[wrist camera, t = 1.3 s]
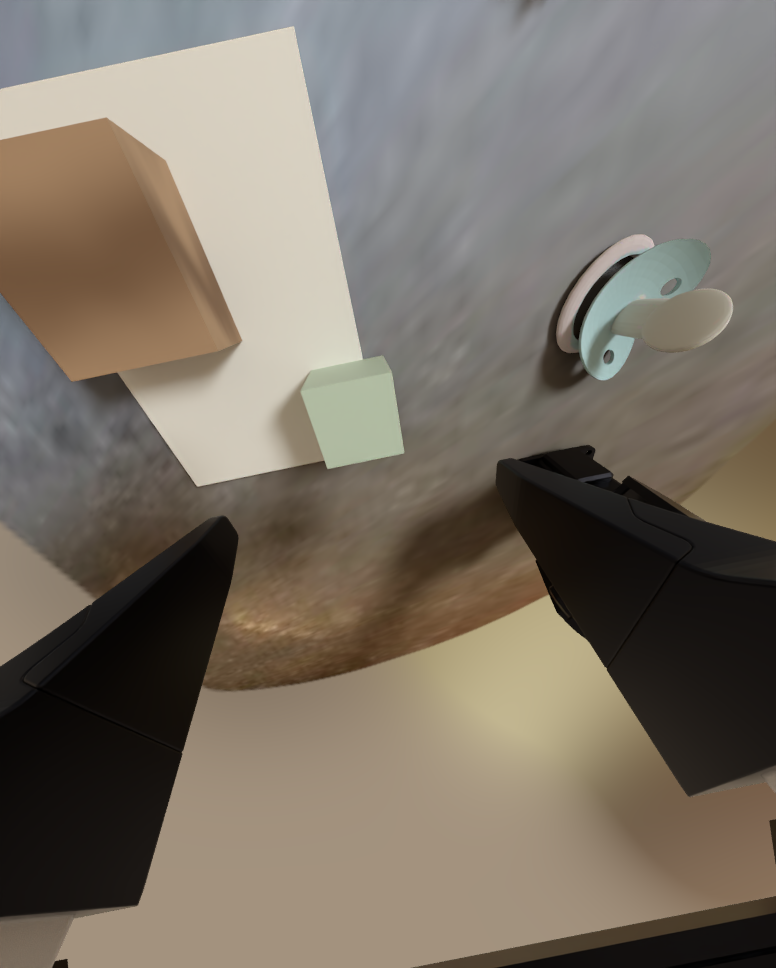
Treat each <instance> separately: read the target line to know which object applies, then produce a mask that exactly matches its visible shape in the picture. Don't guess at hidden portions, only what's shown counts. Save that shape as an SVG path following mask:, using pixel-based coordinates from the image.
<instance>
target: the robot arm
mask: <svg viewBox="0 0 776 968" xmlns="http://www.w3.org/2000/svg"><path fill="white" fill-rule="evenodd" d="M587 451H588V452H587ZM586 452H587V453H586ZM594 453H595V448H593V447H592V446H590V445H586V446H581V447H576V448H569V449H564V450H559V451H554V452H549V453H546V454H542V455H537V456H532V457H528V458H523V459H520V460H515V459H512V458H508V459H504V460H499V461H498V463H497V472H496V486H497V489H498V491H499V493H500V495H501V498H502V500H503V502H504V504H505V506H506V508H507V510H508V512H509V514H510V516H511V518H512V520H513V522H514V524H515V526H516V528H517V529H518V531H519V533H520V534H521V536H522V537H523V539H524V541H525V542H526V544H527V545H528V547H529V548H530V550H531V552H532V553H533V555H534V556H535V558H536V559H537V560H536V563H537V566H538V568H539V571H540V573H541V576H542V578H543V581H544V583H545V585H546V588H547V590H548V593H549V595H550V598H551V600H552V602H553V604H554V607H555V609H556V611H557V613H558V614H559V615H560V616H561V617H562V618H563V619H564V620H565V622H567V623H568V624H569V625H570V626H571V627H572V628H573V629H574V630H575V631H576V632H577V633H579V634H580V635H581V636H583V637H584V638H586V639H587V640H588V642H589V643H590V644H591V646H592V647H593V649H594V650H595V652H596V653H597V655H598V657H599V658H600V660H601V661H602V663H603V665H604V666H605V667H606V668H607V671H608V673H609V674H610V676H611V677H612V679H613V681H614V682H615V684H616V685H617V687H618V689H619V690H620V692H621V693H622V695H623V696H624V698H625V699H626V701H627V703H628V704H629V706H630V707H631V709H632V710H633V712H634V714H635V715H636V717H637V718H638V720H639V721H640V723H641V725H642V726H643V728H644V729H645V731H646V732H647V734H648V735H649V737H650V739H651V740H652V742H653V743H654V745H655V747H656V748H657V750H658V751H659V753H660V754H661V756H662V757H663V759H664V761H665V762H666V764H667V765H668V767H669V769H670V770H671V771H672V773H673V775H674V776H675V778H676V779H677V781H678V783H679V784H680V785H681V787H682V788H683V790H684V791H685V793H686V794H687V795H688V796H689V797H693V796H698V795H703V794H708V793H713V792H718V791H723V790H728V789H733V788H738V787H744V786H748V785H753V784H759V783H764V782H766V783H767V784H768V785H769V786H770V787H771V788H772V789H773V791H774V792H775V793H776V542H775V541H772V540H768V539H765V538H761V537H758V536H754V535H750V534H747V533H744V532H740V531H736V530H733V529H730V528H726V527H723V526H719V525H715V524H712V523H709V522H706V521H704V520H703V519H701V518H700V517H698V516H697V515H695V514H693V513H691V512H690V511H689V510H687V509H685V508H684V507H682V506H681V505H679V504H677V503H676V502H674V501H673V500H671V499H669V498H668V497H666V496H664V495H662V494H661V493H659V492H657V491H655V490H654V489H652V488H650V487H648V486H646V485H645V484H643V483H641V482H639V481H637V480H636V479H634V478H632V477H630V476H627V477H626V478H625V479H624V480H623V481H622V482H623V483H622V484H621V483H619V482H618V481H616V480H615V479H613V473H612V472H610V471H609V470H608V469H606V468H605V467H603V466H602V465H600V464H599V463H597V462H596V461H594V460H593V457H594ZM237 546H238V534H237V532H236V530H235V529H234V527H233V526H232V524H231V523H230V521H229V520H228V518H227V517H225V516H223V515H222V516H216V517H212V518H209V519H208V520H206V521H205V522H204V523H202V524H201V525H200V526H198V527H197V528H195V529H194V530H193V531H191V532H190V533H188V534H187V535H186V536H184V537H183V538H182V539H180V540H179V541H177V542H176V543H175V544H173V545H172V546H170V547H169V548H168V549H166V550H165V551H163V552H162V553H161V554H159V555H158V556H157V557H155V558H154V559H152V560H151V561H150V562H148V563H147V564H145V565H144V566H143V567H141V568H140V569H138V570H137V571H136V572H134V573H133V574H132V575H130V576H129V577H127V578H126V579H125V580H123V581H122V582H120V583H119V584H118V585H116V586H115V587H114V588H112V589H111V590H109V591H108V592H107V593H105V594H104V595H102V596H101V597H100V598H98V599H97V600H95V601H94V602H93V603H92V605H89V606H87V607H86V608H84V609H83V610H81V611H80V612H79V613H77V614H76V615H75V616H73V617H72V618H70V619H69V620H68V621H66V622H65V623H63V624H62V625H60V626H59V627H58V628H56V629H55V630H53V631H52V632H51V633H49V634H48V635H46V636H45V637H43V638H42V639H40V640H39V641H38V642H36V643H35V644H33V645H32V646H30V647H29V648H27V649H26V650H24V651H23V652H21V653H20V654H18V655H17V656H15V657H14V658H13V659H11V660H9V661H8V662H6V663H5V664H3V665H2V666H0V968H68V962H67V959H64V960H59V961H55V959H56V957H57V955H58V953H59V951H60V948H61V946H62V944H63V941H64V939H65V937H66V935H67V932H68V930H69V928H70V926H71V924H72V921H73V919H74V918H78V917H84V916H89V915H94V914H99V913H104V912H109V911H114V910H119V909H125V908H130V907H135V906H137V905H138V903H139V901H140V898H141V895H142V893H143V889H144V886H145V883H146V879H147V876H148V872H149V869H150V866H151V862H152V859H153V855H154V852H155V848H156V845H157V841H158V837H159V834H160V831H161V827H162V823H163V820H164V816H165V813H166V809H167V806H168V802H169V799H170V795H171V792H172V788H173V785H174V781H175V778H176V774H177V771H178V767H179V764H180V760H181V757H182V751H183V749H184V746H185V742H186V738H187V735H188V732H189V728H190V725H191V721H192V718H193V714H194V711H195V707H196V704H197V700H198V697H199V693H200V690H201V686H202V683H203V679H204V676H205V672H206V669H207V665H208V662H209V658H210V655H211V651H212V648H213V644H214V641H215V637H216V634H217V630H218V627H219V623H220V620H221V616H222V613H223V609H224V606H225V602H226V599H227V595H228V592H229V588H230V584H231V580H232V575H233V570H234V564H235V558H236V552H237ZM770 828H771V835H772V842H773V849H774V856H775V862H776V819H775V820H770ZM413 968H776V896H774V897H769V898H764V899H759V900H754V901H749V902H744V903H739V904H734V905H728V906H724V907H718V908H714V909H709V910H703V911H698V912H693V913H688V914H683V915H678V916H673V917H667V918H663V919H657V920H652V921H647V922H642V923H637V924H632V925H627V926H622V927H617V928H612V929H607V930H601V931H597V932H591V933H586V934H581V935H576V936H571V937H566V938H561V939H556V940H551V941H546V942H541V943H535V944H530V945H525V946H520V947H515V948H510V949H505V950H500V951H495V952H490V953H485V954H479V955H474V956H469V957H464V958H459V959H454V960H449V961H444V962H439V963H434V964H428V965H423V966H419V967H413Z"/></svg>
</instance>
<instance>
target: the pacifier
mask: <svg viewBox="0 0 776 968" xmlns="http://www.w3.org/2000/svg"><path fill="white" fill-rule="evenodd" d="M627 256H631V257H633V258H634V259H632V260H631V261H630V262H628V263H627V264H626V265H625V266H623V267H622V268H621V269H620V270H619V271H618V272H617V273H616V274H614V275H613V276H612V277H611V279H610V280H609V281H608V282H607V283H606V284H605V285H604V287H603V288H602V289H601V290H600V292H599V293H598V294H597V296H596V297H595V299H594V300H593V302H592V304H591V305H590V307H589V309H588V311H587V313H586V315H585V317H584V320H583V323H582V326H581V330H580V335H579V340H577V339H576V338H575V336H574V332H573V326H574V320H575V317H576V314H577V312H578V309H579V307H580V305H581V303H582V301H583V299H584V297H585V296H586V294H587V293H588V291H589V290H590V289H591V287H592V286H593V285H594V283H595V282H596V281H597V280H598V279H599V278H600V276H601V275H602V274H603V273H604V272H605V271H607V270H608V269H609V268H610V267H611V266H612V265H613V264H615V263H616V262H618V261H619V260H621V259H622V258H624V257H627ZM710 259H711V253H710V249H709V248H708V247H707V245H706V244H705V243H703V242H701V241H699V240H695V239H678V240H672V241H668V242H665V243H662V244H659V245H657V246H654V243H653V241H652V239H651V238H649V237H647V236H646V235H644V234H639V235H632V236H629V237H627V238H624V239H622V240H620V241H619V242H617V243H616V244H614V245H613V246H611V247H610V248H608V249H607V250H606V251H605V252H604V253H603V254H601V255H600V256H599V257H598V258H597V259H596V260H595V261H594V262H593V263H592V264H591V265H590V266H589V268H588V269H587V270H586V271H585V272H584V274H583V275H582V276H581V277H580V279H579V280H578V282H577V283H576V285H575V286H574V288H573V289H572V291H571V292H570V294H569V296H568V298H567V300H566V302H565V304H564V306H563V308H562V311H561V314H560V317H559V320H558V323H557V330H556V337H557V344H558V345H559V347H560V348H561V350H562V351H565V352H567V353H578V352H579V354H580V358H581V362H582V364H583V366H584V368H585V370H586V371H587V372H588V374H589V375H591V376H592V377H594V378H596V379H599V380H607V379H609V378H612V377H613V376H614V375H615V374H616V373H617V372H618V371H619V370H620V369H621V367H622V366H623V364H624V363H625V361H626V359H627V357H628V355H629V353H630V350H631V348H632V345H633V342H634V339H635V338H638V339H643V340H644V342H645V343H646V344H647V345H648V346H649V347H651V348H652V349H655V350H657V351H661V352H669V353H674V352H683V351H687V350H691V349H694V348H697V347H699V346H701V345H703V344H705V343H707V342H709V341H710V340H712V339H713V338H715V337H716V336H717V335H718V334H719V333H720V332H721V331H722V330H723V329H724V328H725V327H726V325H727V324H728V322H729V321H730V318H731V316H732V313H733V304H732V300H731V298H730V297H729V296H728V295H727V294H726V293H725V292H722V291H720V290H716V289H697V290H694V288H695V287H696V286H697V285H698V283H699V282H700V281H701V280H702V278H703V276H704V274H705V273H706V271H707V269H708V267H709V264H710ZM673 278H675V279H676V280H677V284H676V286H675V287H674V289H673V290H672V291H670V292H669V293H668V294H666V295H663V296H662V295H661V293H660V291H661V288H662V287H663V285H664V284H665V283H666V282H668V281H669V280H671V279H673ZM607 350H609V351H610V353H611V357H610V360H609V362H608V363H606V364H605V363H604V361H603V356H604V353H605V352H606V351H607Z"/></svg>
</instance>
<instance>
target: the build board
mask: <svg viewBox="0 0 776 968" xmlns="http://www.w3.org/2000/svg"><path fill="white" fill-rule="evenodd" d="M106 117H107V118H108V119H109V120H111V121H112V122H114V123H115V124H116V125H118V126H119V127H120V128H122V129H123V130H124V131H126V132H127V133H129V134H130V135H131V136H133V137H134V138H135V139H137V140H138V141H140V142H141V143H142V144H144V145H145V146H146V147H148V148H149V149H151V150H152V151H153V152H155V153H156V154H157V155H159V156H160V157H162V158H163V159H164V160H166V162H167V165H168V167H169V169H170V172H171V174H172V177H173V179H174V181H175V184H176V186H177V188H178V191H179V193H180V195H181V198H182V200H183V202H184V205H185V207H186V209H187V212H188V214H189V217H190V219H191V221H192V224H193V226H194V228H195V231H196V233H197V235H198V238H199V240H200V242H201V245H202V247H203V249H204V252H205V254H206V256H207V259H208V261H209V264H210V266H211V268H212V271H213V273H214V275H215V278H216V280H217V282H218V285H219V287H220V289H221V292H222V294H223V296H224V299H225V301H226V304H227V306H228V308H229V311H230V313H231V315H232V318H233V320H234V322H235V325H236V327H237V329H238V332H239V334H240V336H241V339H242V341H241V342H239V343H236V344H234V345H232V346H229V347H227V348H225V349H222V350H220V351H217V352H212V353H207V354H202V355H198V356H193V357H188V358H183V359H178V360H174V361H169V362H164V363H159V364H154V365H150V366H145V367H140V368H135V369H131V370H126V371H121V372H117V373H118V374H119V376H120V377H121V379H122V380H123V381H124V383H125V384H126V386H127V387H128V389H129V390H130V391H131V393H132V394H133V396H134V397H135V399H136V400H137V401H138V403H139V404H140V406H141V407H142V409H143V410H144V411H145V413H146V414H147V416H148V417H149V419H150V420H151V421H152V423H153V424H154V426H155V427H156V429H157V430H158V431H159V433H160V434H161V436H162V437H163V439H164V440H165V441H166V443H167V444H168V446H169V447H170V449H171V450H172V451H173V453H174V454H175V456H176V457H177V459H178V460H179V461H180V463H181V464H182V466H183V467H184V469H185V470H186V471H187V473H188V474H189V476H190V477H191V478H192V480H193V481H194V483H195V484H196V486H197V487H199V486H203V485H208V484H213V483H218V482H223V481H228V480H232V479H237V478H242V477H247V476H252V475H257V474H261V473H266V472H271V471H276V470H281V469H286V468H290V467H295V466H300V465H305V464H310V463H315V462H319V461H324V457H323V455H322V452H321V449H320V446H319V443H318V440H317V437H316V435H315V432H314V429H313V426H312V423H311V420H310V417H309V415H308V412H307V409H306V406H305V403H304V400H303V397H302V395H301V392H300V391H301V389H302V387H303V385H304V383H305V381H306V379H307V377H308V375H309V373H310V371H311V370H315V369H320V368H325V367H329V366H334V365H339V364H344V363H349V362H353V361H358V360H363V358H362V353H361V348H360V343H359V338H358V334H357V329H356V324H355V319H354V314H353V309H352V305H351V300H350V295H349V290H348V285H347V281H346V276H345V271H344V266H343V261H342V256H341V252H340V247H339V242H338V237H337V232H336V228H335V223H334V218H333V213H332V208H331V203H330V199H329V194H328V189H327V184H326V179H325V174H324V170H323V165H322V160H321V155H320V150H319V146H318V141H317V136H316V131H315V126H314V121H313V117H312V112H311V107H310V102H309V97H308V93H307V88H306V83H305V78H304V73H303V68H302V64H301V59H300V54H299V49H298V44H297V40H296V35H295V30H294V26H293V27H288V28H283V29H279V30H274V31H269V32H265V33H260V34H255V35H251V36H246V37H241V38H237V39H232V40H227V41H223V42H218V43H213V44H209V45H204V46H199V47H195V48H190V49H185V50H180V51H176V52H171V53H166V54H162V55H157V56H152V57H148V58H143V59H138V60H134V61H129V62H124V63H120V64H115V65H110V66H106V67H101V68H96V69H92V70H87V71H82V72H78V73H73V74H68V75H64V76H59V77H54V78H50V79H45V80H40V81H35V82H31V83H26V84H21V85H17V86H12V87H7V88H3V89H0V140H2V139H7V138H12V137H17V136H21V135H26V134H31V133H35V132H40V131H45V130H49V129H54V128H59V127H64V126H68V125H73V124H78V123H82V122H87V121H92V120H96V119H101V118H106Z"/></svg>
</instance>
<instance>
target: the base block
mask: <svg viewBox="0 0 776 968" xmlns="http://www.w3.org/2000/svg"><path fill="white" fill-rule="evenodd" d="M0 293H1V294H2V295H3V297H4V298H5V299H6V300H7V302H8V303H9V304H10V305H11V306H12V308H13V309H14V310H15V311H16V313H17V314H18V315H19V316H20V318H21V319H22V320H23V321H24V323H25V324H26V325H27V326H28V328H29V329H30V330H31V331H32V333H33V334H34V335H35V336H36V338H37V339H38V340H39V341H40V343H41V344H42V345H43V346H44V347H45V349H46V350H47V351H48V352H49V354H50V355H51V356H52V357H53V359H54V360H55V361H56V362H57V364H58V365H59V366H60V367H61V369H62V370H63V371H64V372H65V374H66V375H67V376H68V377H69V379H70V380H71V381H72V382H73V381H78V380H83V379H87V378H92V377H97V376H102V375H107V374H111V373H116V372H121V371H126V370H131V369H135V368H140V367H145V366H150V365H154V364H159V363H164V362H169V361H174V360H178V359H183V358H188V357H193V356H198V355H202V354H207V353H212V352H217V351H220V350H222V349H225V348H227V347H229V346H232V345H234V344H236V343H239V342H241V341H242V339H241V336H240V334H239V332H238V329H237V327H236V325H235V322H234V320H233V318H232V315H231V313H230V311H229V308H228V306H227V304H226V301H225V299H224V296H223V294H222V292H221V289H220V287H219V285H218V282H217V280H216V278H215V275H214V273H213V271H212V268H211V266H210V264H209V261H208V259H207V256H206V254H205V252H204V249H203V247H202V245H201V242H200V240H199V238H198V235H197V233H196V231H195V228H194V226H193V224H192V221H191V219H190V217H189V214H188V212H187V209H186V207H185V205H184V202H183V200H182V198H181V195H180V193H179V191H178V188H177V186H176V184H175V181H174V179H173V177H172V174H171V172H170V169H169V167H168V165H167V162H166V160H164V159H163V158H162V157H160V156H159V155H157V154H156V153H155V152H153V151H152V150H151V149H149V148H148V147H146V146H145V145H144V144H142V143H141V142H140V141H138V140H137V139H135V138H134V137H133V136H131V135H130V134H129V133H127V132H126V131H124V130H123V129H122V128H120V127H119V126H118V125H116V124H115V123H114V122H112V121H111V120H109V119H108V118H107V117H106V118H101V119H96V120H92V121H87V122H82V123H78V124H73V125H68V126H64V127H59V128H54V129H49V130H45V131H40V132H35V133H31V134H26V135H21V136H17V137H12V138H7V139H2V140H0Z"/></svg>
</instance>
